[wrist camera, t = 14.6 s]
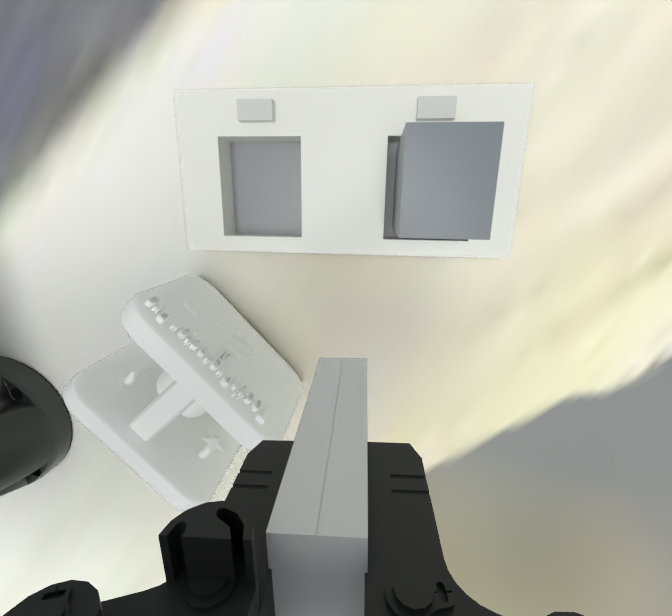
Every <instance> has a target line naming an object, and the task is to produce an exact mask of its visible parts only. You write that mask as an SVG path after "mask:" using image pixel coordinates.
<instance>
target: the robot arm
mask: <svg viewBox="0 0 672 616" xmlns="http://www.w3.org/2000/svg"><path fill="white" fill-rule="evenodd" d="M71 436H72V431H71V423H70V419H69V415H68V412H67V410H66V408H65V405H64V404H63V402H62V400H61V398H60V397H59V395H58V394H57V392H56V391H55V390H54V389H53V387H52V386H51V385H50V384H49V383H48V382H47V381H46V380H45V379H44V378H43V377H41V376H40V375H39V374H38V373H36V372H35V371H34V370H32V369H30V368H29V367H27V366H25V365H23V364H21V363H19V362H17V361H14V360H11V359H8V358H4V357H0V496H3V495H5V494H7V493H9V492H12V491H14V490H16V489H19V488H21V487H23V486H26V485H28V484H30V483H32V482H35V481H36V480H38V479H40V478H41V477H43V476H44V475H45V474H47V473H48V472H49V471H50V470H52V469H53V468H54V467H55V466H57V465H58V464H59V463H60V462H61V461H62V460H63V459H64V457H65V456H66V454H67V452H68V450H69V447H70V443H71ZM158 536H159V542H160V547H161V553H162V558H163V564H164V570H165V575H166V582H165V583H163V584H161V585H159V586H157V587H154V588H151V589H148V590H145V591H142V592H138V593H134V594H130V595H126V596H122V597H118V598H114V599H110V600H107V601H103V602H101V601H100V597H99V593H98V590H97V589H96V588H95V587H93V586H92V585H91V584H90V583H89V582H86V581H77V580H70V581H65V582H61V583H57V584H53V585H50V586H48V587H46V588H44V589H42V590H40V591H38V592H36V593H34V594H32V595H30V596H28V597H27V598H26V599H24V600H23V601H22V602H20V603H19V604H18V605H16V606H15V607H14V608H12V609H11V610H10V611H8V612H7V613H6V614H4V615H3V616H501V615H499V614H497V613H495V612H493V611H491V610H488V609H487V608H485V607H483V606H481V605H479V604H478V603H477V602H476V601H474V600H473V599H472V598H470V597H469V596H468V595H466V593H465V592H464V591H463V590H462V589H461V588H460V587H459V586H458V585H457V584H456V582H455V581H454V579H453V578H452V576H451V574H450V573H449V571H448V569H447V566H446V563H445V560H444V557H443V553H442V548H441V544H440V539H439V535H438V530H437V526H436V521H435V517H434V512H433V508H432V503H431V499H430V495H429V490H428V485H427V481H426V478H425V472H424V467H423V463H422V458H421V457H420V456H419V455H418V453H417V452H416V451H415V450H414V448H413V447H412V446H411V445H410V444H409V443H381V442H367V359H360V358H320V360H319V363H318V366H317V369H316V373H315V376H314V379H313V382H312V386H311V389H310V392H309V395H308V398H307V402H306V405H305V408H304V411H303V414H302V418H301V421H300V424H299V427H298V430H297V434H296V437H295V440H294V441H279V440H262V441H261V442H260V443H259V444H258V445H257V446H256V447H255V448H253V449H252V450H251V451H250V452H249V453H248V454H247V457H246V459H245V461H244V463H243V465H242V467H241V469H240V473H238V475H237V477H236V479H235V481H234V483H233V488H231V490H230V492H229V494H228V496H227V498H226V500H225V501H217V502H207V503H203V504H200V505H198V506H195V507H193V508H190V509H187V510H186V511H184V512H183V513H182V514H180V515H179V516H177V517H176V518H174V519H173V520H171V521H170V522H169V524H168V525H167V526H166V527H165V528H164V529H163V531H162V532H161V533H160V534H159V535H158ZM547 616H583V615H580V614H578V613H575V612H553V613H551V614H549V615H547Z"/></svg>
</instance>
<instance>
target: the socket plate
mask: <svg viewBox="0 0 672 616" xmlns="http://www.w3.org/2000/svg"><path fill="white" fill-rule="evenodd" d="M533 88H534V83H515V84H461V85H406V86H351V87H296V88H241V89H186V90H173V96H174V106H175V117H176V128H177V139H178V149H179V160H180V171H181V182H182V192H183V203H184V214H185V225H186V236H187V246H188V250H209V251H246V252H283V253H320V254H358V255H395V256H432V257H469V258H506V259H510V253H511V245H512V238H513V231H514V224H515V217H516V210H517V203H518V195H519V188H520V181H521V174H522V167H523V160H524V153H525V145H526V138H527V131H528V124H529V117H530V110H531V103H532V95H533ZM500 121H505V122H504V130H503V138H502V146H501V154H500V162H499V170H498V179H497V187H496V195H495V203H494V211H493V219H492V227H491V235H490V240H471V239H426V238H399V237H398V236H397V235H396V233H395V232H394V231H393V230H392V226H393V208H394V189H395V171H396V152H397V147H398V144H399V141H400V138H401V135H402V132H403V129H404V126H405V124H406V122H500Z"/></svg>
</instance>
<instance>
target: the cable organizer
mask: <svg viewBox="0 0 672 616" xmlns="http://www.w3.org/2000/svg"><path fill="white" fill-rule="evenodd" d="M120 319H121V322H122V325H123V327H124V329H125V330H126V332H127V333H128V334H129V336H130V337H131V338H132V339H133V340H134V341H135V342H133V343H131V344H129V345H128V346H126V347H124V348H122V349H120V350H118V351H117V352H115V353H113V354H111V355H109V356H108V357H106V358H104V359H102V360H100V361H99V362H97V363H95V364H93V365H91V366H89V367H88V368H86V369H84V370H82V371H80V372H79V373H77V374H76V375H75V376H74V377H73V378H72V379H71V380H70V381H69V383H68V384H67V385H66V386H65V388H64V391H63V399H64V402H65V405H66V406H67V408H68V410H69V411H70V412H71V413H72V414H73V415H74V416H75V417H76V418H77V419H78V420H79V421H80V422H81V423H82V424H83V425H84V426H86V427H87V428H88V429H89V430H90V431H91V432H92V433H93V434H94V435H95V436H96V437H98V438H99V439H100V440H101V441H102V442H103V443H104V444H105V445H106V446H107V447H108V448H110V449H111V450H112V451H113V452H114V453H115V454H116V455H117V456H118V457H119V458H121V459H122V460H123V461H124V462H125V463H126V464H127V465H128V466H129V467H130V468H131V469H133V470H134V471H135V472H136V473H137V474H138V475H139V476H140V477H141V478H142V479H143V480H145V481H146V482H147V483H148V484H149V485H150V486H151V487H152V488H153V489H154V490H155V491H157V492H158V493H159V494H160V495H161V496H162V497H163V498H164V499H165V500H166V501H168V502H169V503H170V504H171V505H172V506H174V507H175V508H177V509H180V510H183V511H186V510H187V509H190V508H193V507H195V506H198V505H200V504H203V503H206V502H207V501H209V500H210V499H211V497H212V496H213V494H214V492H215V491H216V489H217V487H218V485H219V484H220V482H221V480H222V478H223V477H224V475H225V473H226V471H227V470H228V468H229V466H230V464H231V463H232V461H233V459H234V457H235V456H236V454H237V452H238V450H239V449H240V447H241V445H242V446H243V447H244V448H246V449H247V450H249V451H251V450H252V449H253V448H255V447H256V446H257V445H258V444H259V443H260V442H261V441H262V440H279V441H282V440H283V438H284V435H285V433H286V430H287V428H288V425H289V423H290V420H291V418H292V415H293V413H294V410H295V408H296V405H297V403H298V400H299V398H300V395H301V393H302V384H301V382H300V380H299V378H298V376H297V374H296V373H295V372H294V370H293V369H292V368H291V367H290V366H289V365H288V364H287V363H286V362H285V361H284V359H283V358H282V357H281V356H280V355H279V354H278V353H277V352H276V351H275V350H274V349H273V348H272V347H271V346H270V345H269V344H268V343H267V342H266V341H265V340H264V339H263V338H262V337H261V336H260V335H259V333H258V332H257V331H256V330H255V329H254V328H253V327H252V326H251V325H250V324H249V323H248V322H247V321H246V320H245V319H244V318H243V317H242V316H241V315H240V314H239V313H238V312H237V311H236V310H235V309H234V307H233V306H232V305H231V304H230V303H229V302H228V301H227V300H226V299H225V298H224V297H223V296H222V295H221V294H220V293H219V292H218V291H217V290H216V289H215V288H214V287H213V286H212V285H211V284H209V283H208V282H207V281H205V280H204V279H202V278H200V277H198V276H195V275H188V276H185V277H183V278H180V279H177V280H174V281H171V282H169V283H166V284H163V285H160V286H157V287H155V288H152V289H149V290H146V291H143V292H141V293H138V294H136V295H135V296H134V297H133V298H132V299H131V300H130V301H129V302H128V303H127V304H126V305H125V307H124V308H123V309H122V310H121V312H120Z"/></svg>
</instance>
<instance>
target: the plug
mask: <svg viewBox="0 0 672 616" xmlns="http://www.w3.org/2000/svg"><path fill="white" fill-rule="evenodd" d="M504 122H505V121H500V122H406V124H405V126H404V129H403V132H402V135H401V138H400V141H399V144H398V147H397V152H396V171H395V189H394V208H393V226H392V230H393V231H394V232H395V233H396V235H397V236H398V237H399V238H426V239H471V240H490V235H491V227H492V219H493V211H494V203H495V195H496V187H497V179H498V170H499V162H500V154H501V146H502V138H503V130H504Z"/></svg>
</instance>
